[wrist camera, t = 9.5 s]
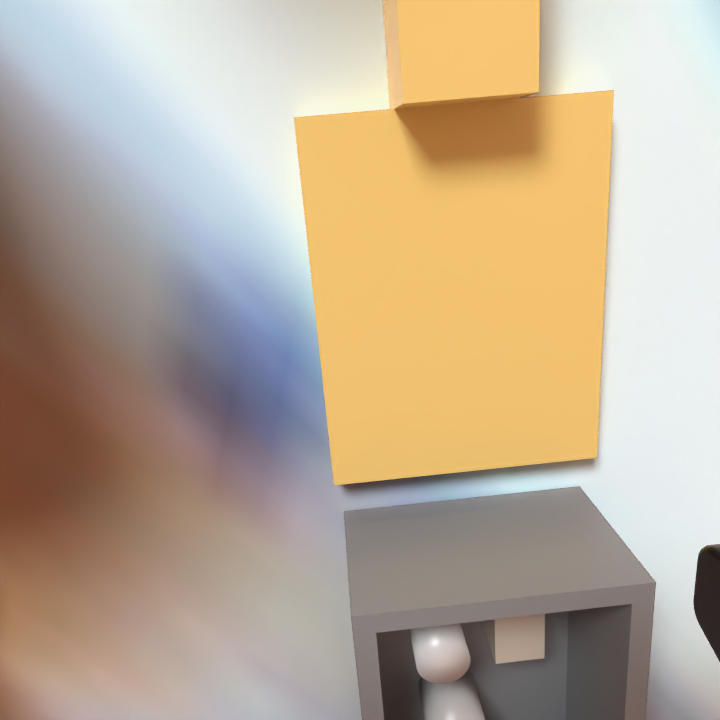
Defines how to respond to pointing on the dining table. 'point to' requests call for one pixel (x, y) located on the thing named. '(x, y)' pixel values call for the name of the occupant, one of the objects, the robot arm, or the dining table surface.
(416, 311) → the lid
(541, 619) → the tub
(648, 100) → the dining table surface
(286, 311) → the dining table surface
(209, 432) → the dining table surface
